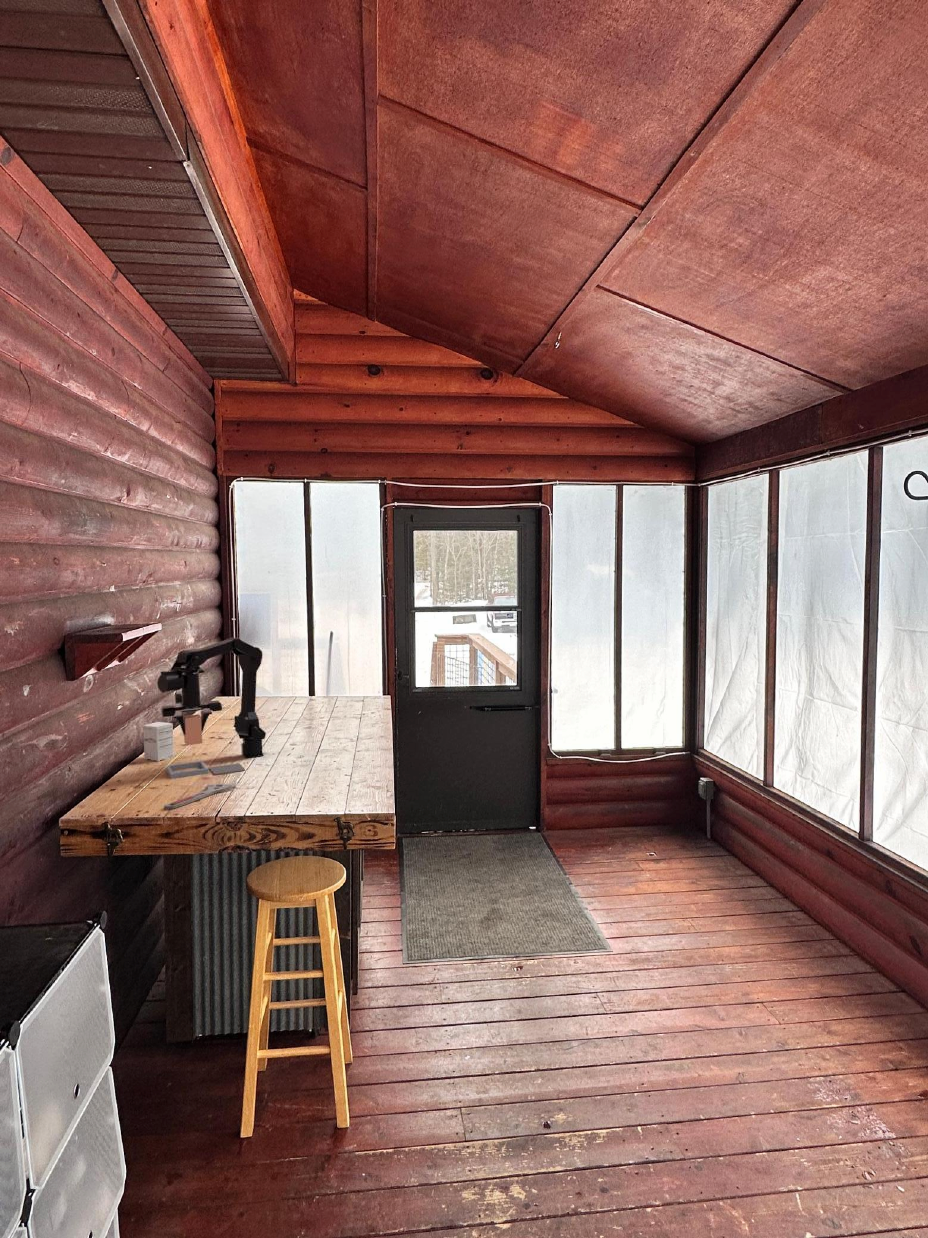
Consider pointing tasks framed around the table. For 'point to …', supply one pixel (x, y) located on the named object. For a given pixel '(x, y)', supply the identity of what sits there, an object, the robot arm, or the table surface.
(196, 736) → the block
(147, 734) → the supplement box
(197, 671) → the robot arm
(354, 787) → the table surface
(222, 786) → the adjustable wrench
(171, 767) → the blue-grey square frame
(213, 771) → the place mat
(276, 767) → the table surface
